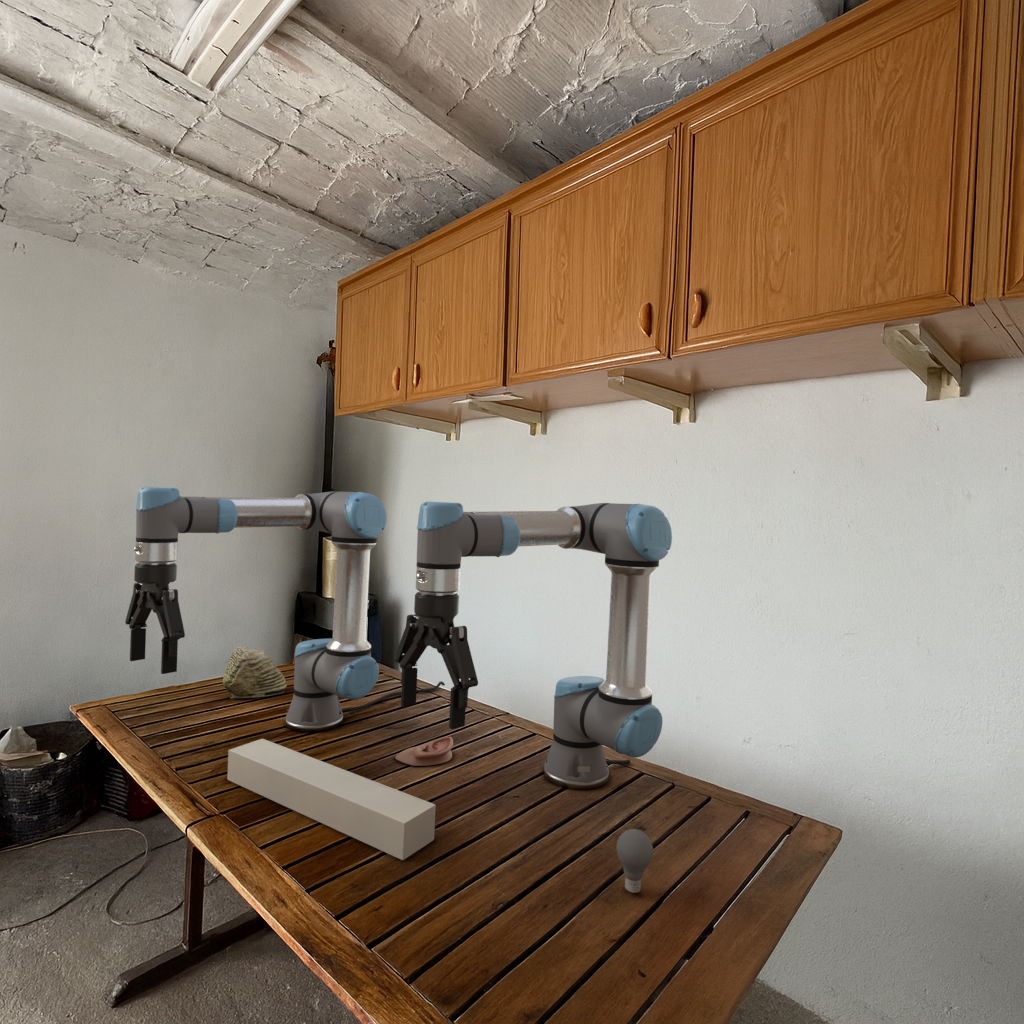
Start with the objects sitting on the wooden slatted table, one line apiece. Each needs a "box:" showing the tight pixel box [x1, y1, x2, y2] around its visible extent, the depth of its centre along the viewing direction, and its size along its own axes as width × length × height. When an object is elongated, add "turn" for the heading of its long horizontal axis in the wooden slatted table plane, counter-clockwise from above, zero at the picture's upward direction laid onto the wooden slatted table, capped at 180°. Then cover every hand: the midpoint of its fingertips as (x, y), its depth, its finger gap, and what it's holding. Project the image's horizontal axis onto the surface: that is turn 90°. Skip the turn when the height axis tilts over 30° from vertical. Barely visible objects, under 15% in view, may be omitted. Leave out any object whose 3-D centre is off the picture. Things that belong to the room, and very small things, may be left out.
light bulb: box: [615, 828, 654, 894], centre depth 106 cm, size 6×6×10 cm
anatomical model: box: [394, 736, 454, 767], centre depth 156 cm, size 13×4×12 cm
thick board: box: [226, 738, 437, 861], centre depth 129 cm, size 52×9×7 cm, turn 57°
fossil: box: [222, 646, 288, 699], centre depth 198 cm, size 9×18×15 cm, turn 132°
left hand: (152, 666), depth 130 cm, fingers open, 13 cm apart
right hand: (431, 715), depth 108 cm, fingers open, 13 cm apart
